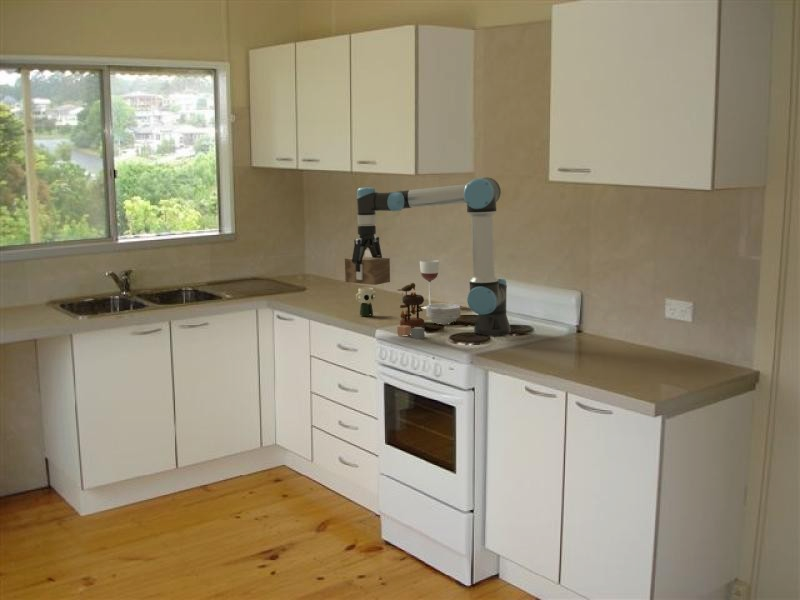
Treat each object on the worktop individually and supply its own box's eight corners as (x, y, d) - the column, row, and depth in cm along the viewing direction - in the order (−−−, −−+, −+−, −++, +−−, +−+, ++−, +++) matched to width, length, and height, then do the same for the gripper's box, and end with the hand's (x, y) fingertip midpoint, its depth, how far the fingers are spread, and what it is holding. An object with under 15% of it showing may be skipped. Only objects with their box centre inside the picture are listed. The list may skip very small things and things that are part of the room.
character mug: (360, 318, 423) (360, 290, 421) (352, 316, 429) (351, 288, 426) (380, 315, 429) (379, 288, 427) (371, 313, 435) (371, 286, 433)
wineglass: (428, 309, 444) (428, 262, 441) (416, 307, 452) (415, 260, 449) (443, 307, 449) (443, 261, 446) (430, 305, 457) (430, 259, 454)
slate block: (424, 337, 378) (424, 327, 377) (419, 338, 375) (418, 329, 374) (416, 336, 380) (416, 326, 380) (411, 337, 377) (410, 328, 376)
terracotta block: (410, 335, 382) (410, 326, 381) (405, 337, 379) (405, 327, 378) (403, 334, 384) (403, 325, 384) (397, 336, 381) (397, 326, 380)
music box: (411, 331, 390) (407, 284, 388) (392, 330, 398) (389, 284, 396) (435, 326, 401) (431, 280, 399) (417, 325, 408) (413, 280, 407)
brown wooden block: (390, 282, 385) (389, 258, 383) (375, 284, 377) (374, 260, 375) (360, 279, 394) (359, 256, 393) (345, 282, 386) (344, 258, 385)
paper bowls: (467, 322, 409) (467, 305, 408) (444, 327, 398) (444, 309, 397) (442, 318, 420) (442, 301, 418) (419, 323, 409) (419, 305, 408)
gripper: (376, 222, 393) (377, 274, 396) (342, 226, 375) (343, 280, 379) (390, 223, 389) (391, 275, 392) (356, 227, 371) (357, 281, 374)
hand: (367, 278), depth 385 cm, fingers closed on brown wooden block, 10 cm apart
